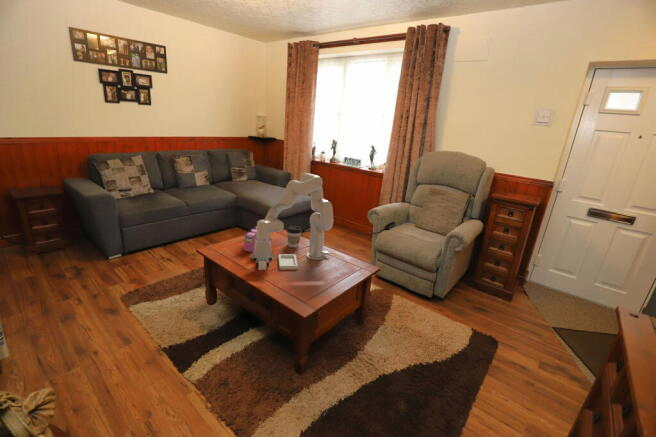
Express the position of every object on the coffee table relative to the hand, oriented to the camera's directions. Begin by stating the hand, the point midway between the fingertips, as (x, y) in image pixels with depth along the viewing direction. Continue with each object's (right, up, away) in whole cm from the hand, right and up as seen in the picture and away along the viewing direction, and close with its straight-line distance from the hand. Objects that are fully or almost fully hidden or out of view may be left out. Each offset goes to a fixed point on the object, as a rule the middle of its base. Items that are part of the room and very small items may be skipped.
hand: (262, 267), depth 194 cm
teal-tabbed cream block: (-1, +1, +5) cm, 5 cm away
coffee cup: (+15, +9, +40) cm, 43 cm away
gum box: (-12, +10, +35) cm, 38 cm away
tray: (+14, +1, +11) cm, 18 cm away
